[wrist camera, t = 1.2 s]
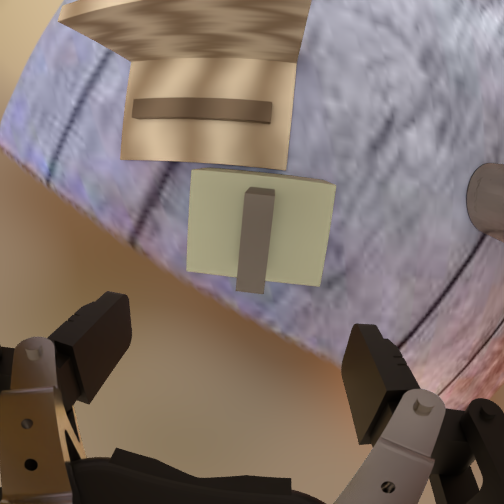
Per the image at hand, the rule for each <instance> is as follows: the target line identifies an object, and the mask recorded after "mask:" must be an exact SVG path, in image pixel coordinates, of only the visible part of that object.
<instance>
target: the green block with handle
mask: <svg viewBox="0 0 504 504" xmlns="http://www.w3.org/2000/svg"><path fill="white" fill-rule="evenodd" d="M335 190H336V185H334V184H332V183H329V182H327V181H325V180H321V179H313V178H306V177H298V176H290V175H282V174H274V173H264V172H255V171H244V170H233V169H221V168H201V169H194V170H192V172H191V186H190V201H189V219H188V241H187V271H190V272H197V273H205V274H213V275H221V276H229V277H237V283H236V291H241V292H249V293H258V294H264V286H265V281H272V282H281V283H291V284H300V285H310V286H319V287H320V283H321V277H322V272H323V266H324V261H325V255H326V249H327V243H328V237H329V231H330V225H331V218H332V212H333V205H334V198H335Z"/></svg>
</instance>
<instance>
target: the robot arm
mask: <svg viewBox="0 0 504 504" xmlns="http://www.w3.org/2000/svg"><path fill="white" fill-rule="evenodd" d="M467 208H468V213H469V216H470V219H471V221H472V223H473V224H474V226H475V227H476V228H477V229H478V230H479V231H481V232H482V233H484V234H487V235H489V236H491V237H493V238H495V239H497V240H499V241H501V242H503V243H504V164H495V163H487V164H484V165H482V166H480V167H479V168H478V169H477V170H476V171H475V173H474V174H473V176H472V178H471V180H470V183H469V187H468V191H467ZM131 338H132V328H131V318H130V306H129V299H128V296H127V295H125V294H120V293H115V292H109V291H107V292H106V293H104V294H103V295H102V296H101V297H100V298H99V299H98V300H97V301H95V302H92V303H89V304H87V305H85V306H83V307H81V308H80V309H79V310H78V311H77V312H76V313H75V314H74V315H72V316H71V317H70V318H69V319H68V321H65V322H64V323H63V324H62V325H61V326H60V327H59V328H58V329H56V331H54V332H53V333H52V334H51V335H50V336H49V337H48V338H44V337H31V338H28V339H25V340H23V341H21V342H20V343H19V344H18V345H17V346H16V347H15V348H8V347H1V346H0V474H1V485H2V487H0V504H326V503H324V502H322V501H320V500H319V499H317V498H315V497H312V496H310V495H308V494H305V493H302V492H299V491H295V490H291V478H274V477H259V476H248V475H244V476H232V477H215V478H197V477H194V476H192V475H189V474H187V473H184V472H182V471H180V470H178V469H175V468H173V467H171V466H169V465H167V464H165V463H163V462H160V461H158V460H156V459H153V458H150V457H146V456H142V455H139V454H135V453H132V452H128V451H125V450H122V449H119V448H116V449H115V451H114V453H113V455H112V457H111V458H109V457H94V458H87V456H86V454H85V450H84V447H83V443H82V439H81V435H80V431H79V426H78V422H77V417H76V412H75V409H74V406H73V405H74V403H75V402H76V400H78V401H81V402H84V403H86V404H90V403H91V401H92V400H93V398H94V397H95V395H96V394H97V392H98V391H99V389H100V388H101V386H102V385H103V384H104V382H105V381H106V379H107V378H108V376H109V375H110V373H111V372H112V371H113V369H114V368H115V366H116V365H117V363H118V362H119V360H120V359H121V358H122V356H123V355H124V353H125V352H126V351H127V349H128V348H129V346H130V343H131ZM402 357H403V356H402V354H401V352H400V351H399V349H398V347H397V346H396V345H394V344H393V343H392V342H391V341H390V340H388V339H384V338H383V337H382V335H381V333H380V331H379V329H378V327H377V326H376V325H372V324H354V326H353V328H352V330H351V334H350V337H349V341H348V344H347V347H346V351H345V354H344V357H343V361H342V369H341V373H342V379H343V382H344V386H345V390H346V394H347V397H348V401H349V405H350V409H351V413H352V417H353V421H354V425H355V429H356V433H357V438H358V442H359V445H363V444H372V446H373V449H372V450H371V452H370V453H369V455H368V457H367V458H366V460H365V461H364V463H363V464H362V466H361V467H360V468H359V470H358V471H357V473H356V474H355V476H354V477H353V478H352V480H351V481H350V483H349V484H348V485H347V487H346V488H345V489H344V491H343V492H342V493H341V495H340V496H339V497H338V499H337V500H336V501H335V502H334V503H333V504H418V502H419V499H420V497H421V495H422V493H423V490H424V488H425V486H426V483H427V481H428V479H430V482H431V486H432V489H433V493H434V497H435V501H436V504H504V413H503V411H502V410H501V408H500V407H499V406H498V405H497V404H496V403H494V402H492V401H490V400H488V399H483V398H478V399H475V400H473V401H471V403H470V404H469V406H468V407H467V409H466V410H465V411H461V410H453V409H446V408H445V404H444V402H443V401H442V400H441V398H440V397H439V396H437V395H436V394H434V393H433V392H430V391H428V390H424V389H420V387H419V385H418V383H417V381H416V379H415V377H414V376H413V374H412V372H411V370H410V368H409V367H408V366H407V363H406V361H405V359H404V358H402ZM475 459H476V461H477V464H478V466H479V469H480V471H481V474H482V476H483V484H482V487H481V489H480V491H479V488H478V485H477V483H476V480H475V477H474V475H473V472H472V470H471V467H470V465H471V463H472V462H474V460H475Z"/></svg>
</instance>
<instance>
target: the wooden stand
mask: <svg viewBox="0 0 504 504" xmlns="http://www.w3.org/2000/svg"><path fill="white" fill-rule="evenodd" d="M311 1H312V0H78V1H75V2H72V3H69V4H66V5H64V6H62V9H61V12H60V15H59V19H58V22H60V23H62V24H64V25H66V26H68V27H70V28H72V29H73V30H75V31H77V32H79V33H81V34H83V35H85V36H87V37H89V38H90V39H92V40H94V41H96V42H98V43H100V44H101V45H103V46H105V47H107V48H108V49H110V50H112V51H114V52H115V53H117V54H119V55H120V56H122V57H124V58H126V59H127V60H129V61H131V67H130V74H129V80H128V87H127V94H126V102H125V111H124V120H123V130H122V142H121V156H120V160H158V161H182V162H199V163H214V164H227V165H239V166H250V167H260V168H269V169H278V170H286V165H287V156H288V146H289V137H290V127H291V117H292V107H293V97H294V86H295V75H296V64H297V59H298V55H299V51H300V47H301V42H302V38H303V34H304V30H305V26H306V22H307V17H308V13H309V9H310V5H311Z"/></svg>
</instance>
